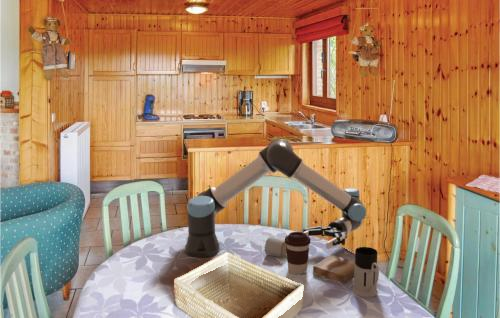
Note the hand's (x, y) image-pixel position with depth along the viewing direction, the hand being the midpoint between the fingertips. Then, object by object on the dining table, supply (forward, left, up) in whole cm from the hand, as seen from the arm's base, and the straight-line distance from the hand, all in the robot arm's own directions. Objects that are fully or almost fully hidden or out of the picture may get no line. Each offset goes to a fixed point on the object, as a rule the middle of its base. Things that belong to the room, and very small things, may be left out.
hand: (312, 241), depth 179 cm
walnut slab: (+13, -2, -9) cm, 16 cm away
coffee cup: (0, -11, -9) cm, 14 cm away
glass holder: (+30, -11, -9) cm, 33 cm away
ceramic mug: (-16, -3, -9) cm, 19 cm away
